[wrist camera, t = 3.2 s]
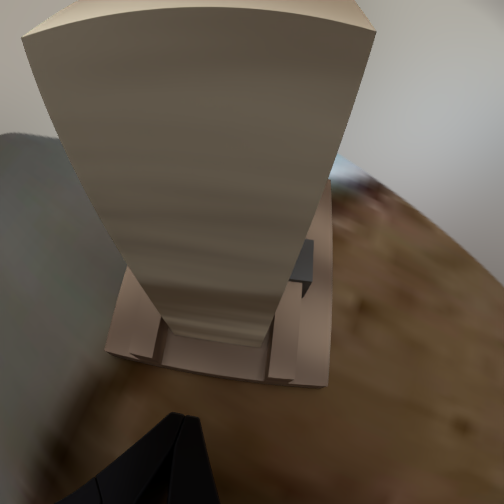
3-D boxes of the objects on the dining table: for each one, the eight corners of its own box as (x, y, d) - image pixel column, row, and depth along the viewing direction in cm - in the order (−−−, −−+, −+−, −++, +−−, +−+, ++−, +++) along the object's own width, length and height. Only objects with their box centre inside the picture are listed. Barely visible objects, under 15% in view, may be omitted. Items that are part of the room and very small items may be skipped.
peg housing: (320, 388, 16) (376, 370, 10) (113, 355, 16) (48, 316, 10) (325, 192, 23) (354, 114, 16) (169, 172, 23) (154, 92, 16)
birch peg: (260, 347, 16) (376, 31, 2) (174, 334, 16) (21, 38, 2) (269, 269, 18) (334, -25, 5) (191, 258, 18) (144, -31, 5)
